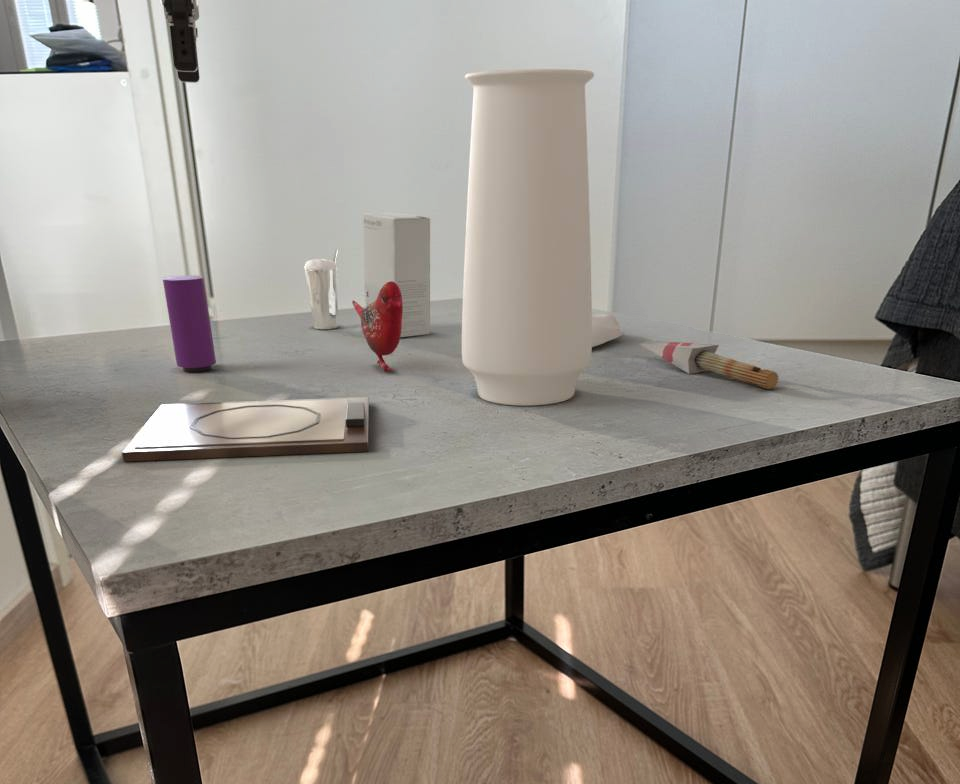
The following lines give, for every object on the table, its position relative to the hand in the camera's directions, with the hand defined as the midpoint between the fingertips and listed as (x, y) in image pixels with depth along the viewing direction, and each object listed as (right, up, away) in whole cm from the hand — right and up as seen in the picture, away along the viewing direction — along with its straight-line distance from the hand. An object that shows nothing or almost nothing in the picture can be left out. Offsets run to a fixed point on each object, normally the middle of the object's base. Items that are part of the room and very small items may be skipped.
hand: (187, 76), depth 95 cm
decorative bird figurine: (+18, -26, +13) cm, 34 cm away
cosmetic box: (+19, -16, +32) cm, 41 cm away
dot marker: (-3, -26, +13) cm, 29 cm away
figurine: (+39, -19, +26) cm, 50 cm away
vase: (+35, -33, 0) cm, 48 cm away
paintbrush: (+55, -28, +8) cm, 62 cm away
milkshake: (+8, -13, +37) cm, 40 cm away
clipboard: (+10, -39, -11) cm, 42 cm away
